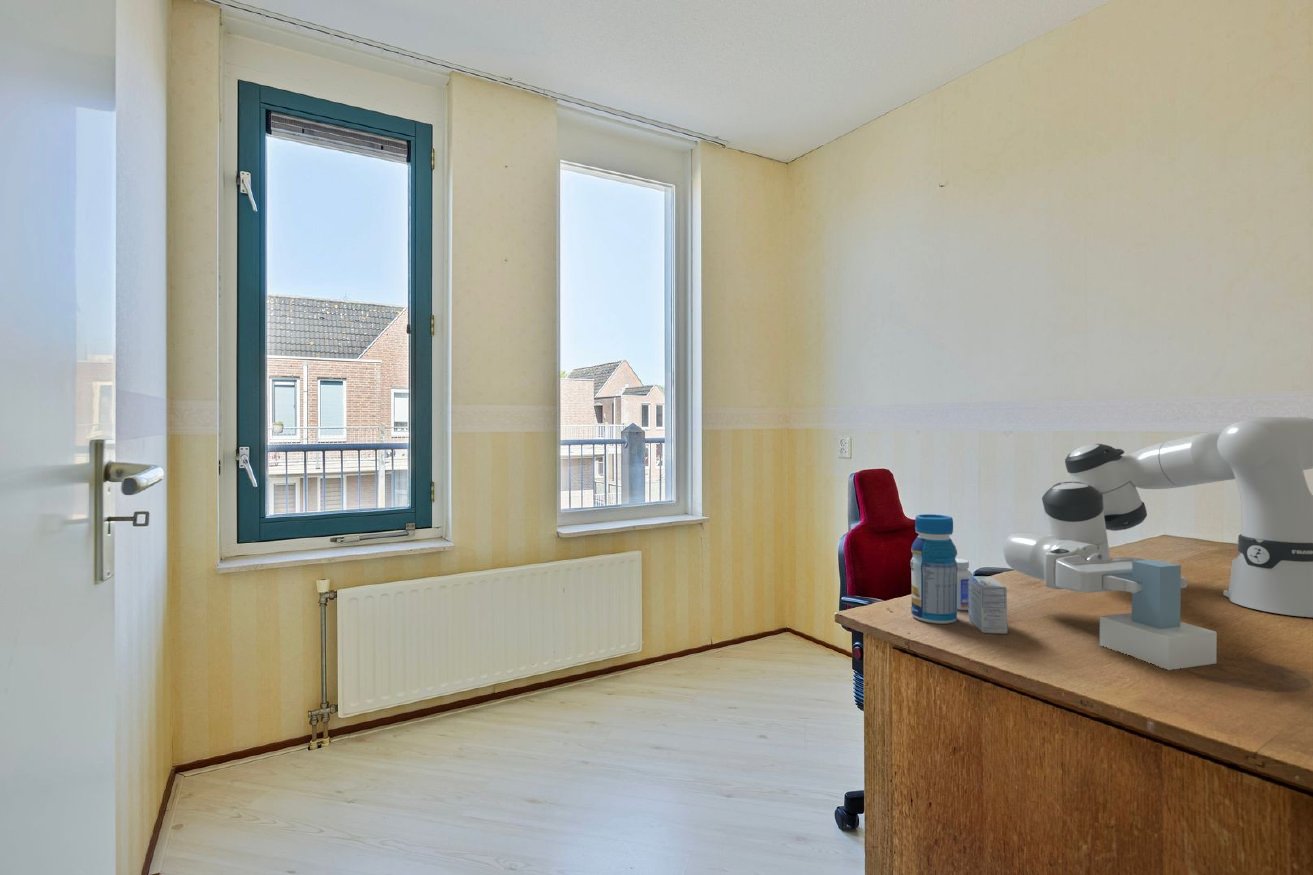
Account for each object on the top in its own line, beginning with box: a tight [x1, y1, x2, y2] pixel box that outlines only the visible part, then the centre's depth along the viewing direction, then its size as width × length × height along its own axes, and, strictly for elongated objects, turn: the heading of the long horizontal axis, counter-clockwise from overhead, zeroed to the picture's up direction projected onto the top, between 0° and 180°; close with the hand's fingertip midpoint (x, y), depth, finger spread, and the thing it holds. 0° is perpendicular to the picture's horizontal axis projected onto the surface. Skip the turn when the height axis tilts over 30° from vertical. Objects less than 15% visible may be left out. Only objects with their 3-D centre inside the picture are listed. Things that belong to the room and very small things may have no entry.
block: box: [1131, 558, 1182, 629], centre depth 99 cm, size 4×4×10 cm
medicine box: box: [967, 575, 1008, 635], centre depth 113 cm, size 8×4×9 cm, turn 168°
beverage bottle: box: [910, 513, 958, 625], centre depth 118 cm, size 8×8×20 cm
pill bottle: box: [955, 557, 974, 611], centre depth 126 cm, size 5×5×10 cm
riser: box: [1099, 612, 1218, 671], centre depth 99 cm, size 10×11×5 cm
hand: (1161, 585), depth 98 cm, fingers open, 8 cm apart
